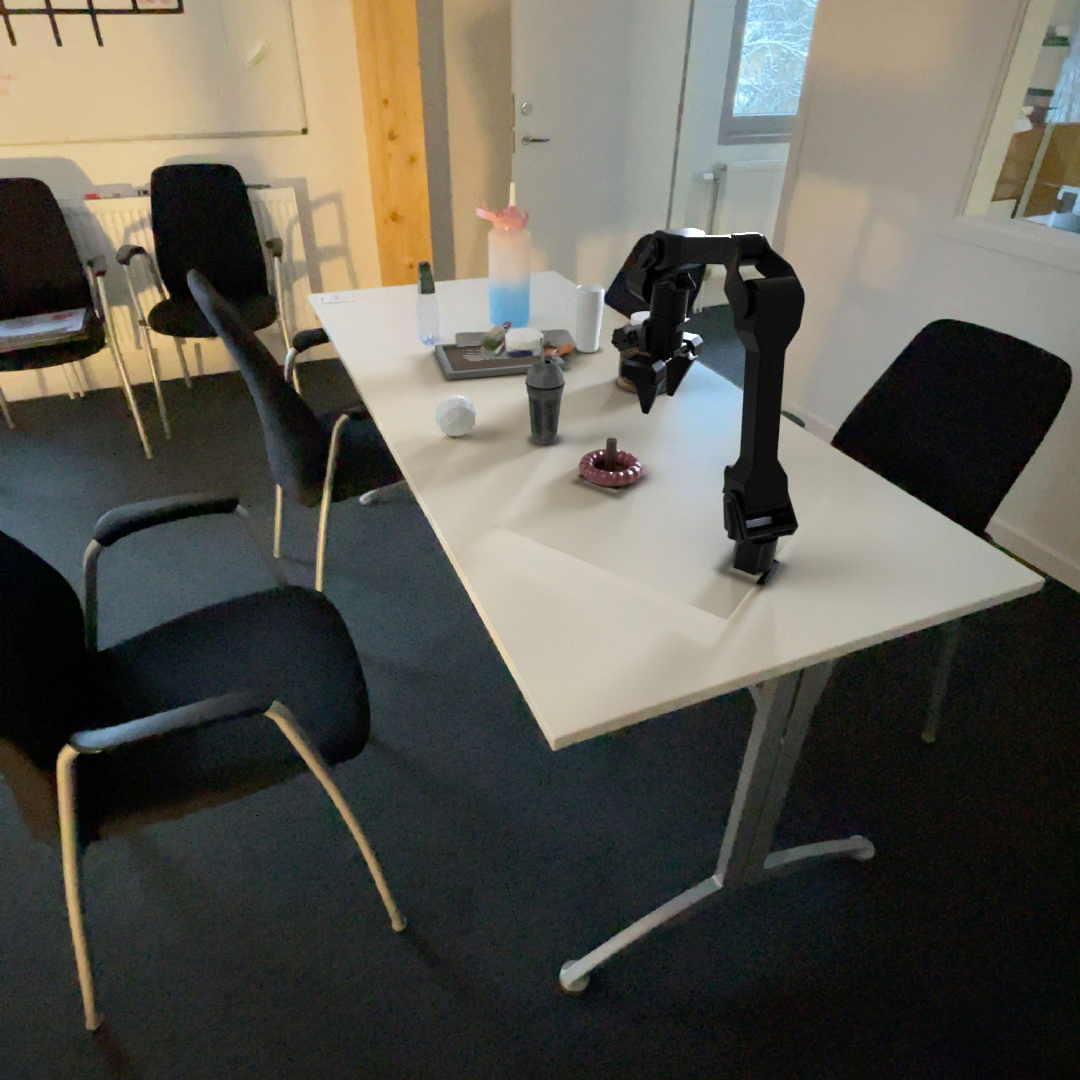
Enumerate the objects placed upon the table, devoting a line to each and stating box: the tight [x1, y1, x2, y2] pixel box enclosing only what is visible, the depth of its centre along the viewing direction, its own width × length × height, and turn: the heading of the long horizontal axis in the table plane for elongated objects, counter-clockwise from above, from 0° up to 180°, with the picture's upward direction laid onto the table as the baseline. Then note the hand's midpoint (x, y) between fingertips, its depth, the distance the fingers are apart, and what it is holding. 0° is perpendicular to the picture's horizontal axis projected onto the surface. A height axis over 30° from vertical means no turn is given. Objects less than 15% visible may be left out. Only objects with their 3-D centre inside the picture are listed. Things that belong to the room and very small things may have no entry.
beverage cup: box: [524, 338, 566, 446], centre depth 136 cm, size 7×7×20 cm
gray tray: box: [434, 341, 566, 381], centre depth 176 cm, size 19×2×30 cm
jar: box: [617, 310, 667, 394], centre depth 161 cm, size 12×12×15 cm
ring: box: [578, 448, 643, 487], centre depth 128 cm, size 11×11×2 cm
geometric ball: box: [434, 394, 477, 438], centre depth 141 cm, size 8×8×8 cm
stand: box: [577, 437, 628, 491], centre depth 127 cm, size 8×8×8 cm
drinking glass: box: [574, 283, 605, 354], centre depth 179 cm, size 7×7×15 cm
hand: (657, 404), depth 127 cm, fingers open, 9 cm apart
